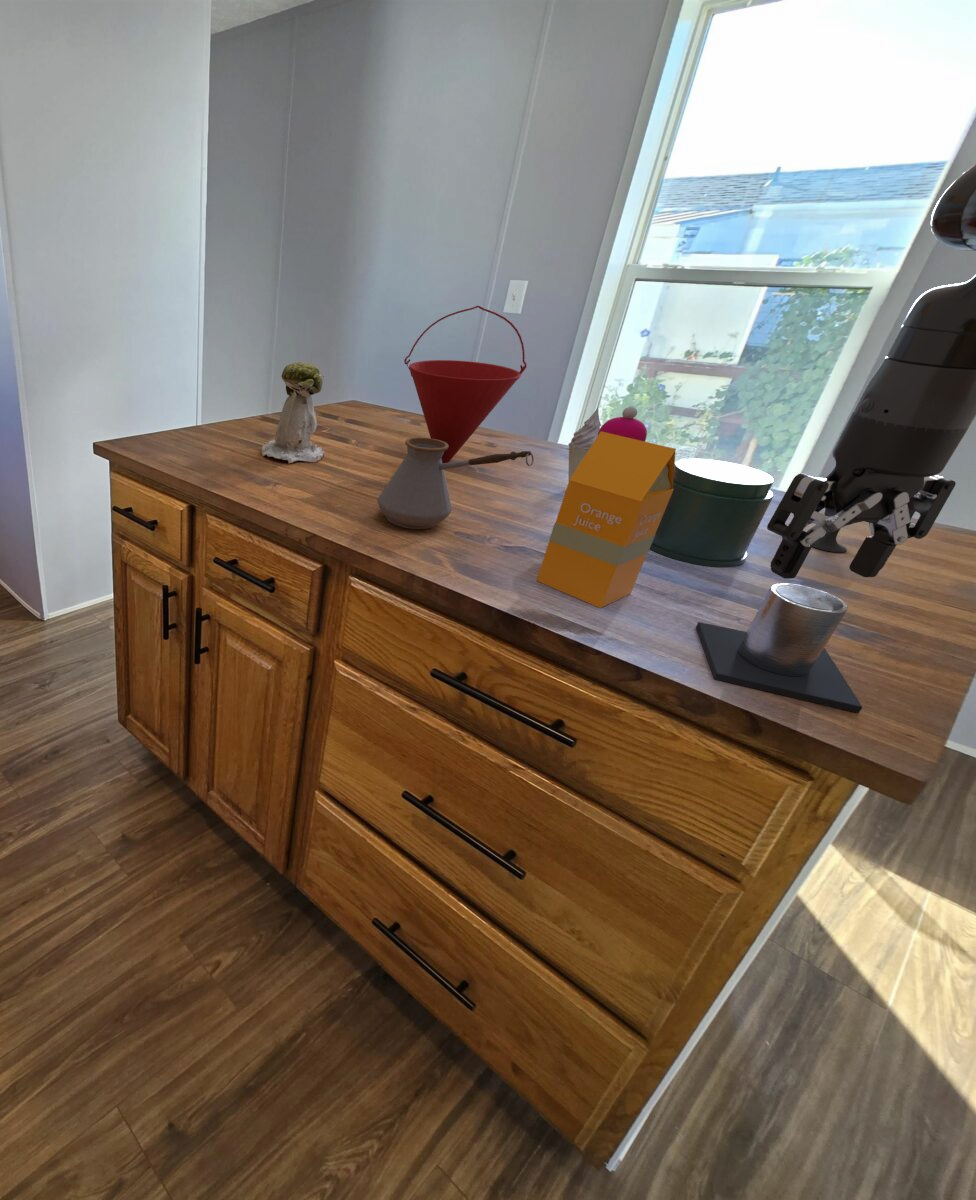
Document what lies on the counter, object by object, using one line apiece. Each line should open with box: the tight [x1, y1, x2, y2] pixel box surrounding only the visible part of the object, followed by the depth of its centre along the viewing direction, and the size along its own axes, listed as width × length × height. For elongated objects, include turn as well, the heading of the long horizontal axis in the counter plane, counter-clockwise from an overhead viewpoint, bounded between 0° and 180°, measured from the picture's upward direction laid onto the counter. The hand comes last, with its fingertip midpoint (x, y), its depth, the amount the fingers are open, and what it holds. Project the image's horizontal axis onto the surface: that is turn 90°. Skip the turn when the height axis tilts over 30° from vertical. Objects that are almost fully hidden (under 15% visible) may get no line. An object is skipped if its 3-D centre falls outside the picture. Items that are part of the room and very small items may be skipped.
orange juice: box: [536, 432, 677, 609], centre depth 83 cm, size 8×9×20 cm
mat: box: [695, 621, 863, 714], centre depth 72 cm, size 12×12×1 cm
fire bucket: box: [403, 305, 527, 463], centre depth 124 cm, size 22×20×30 cm
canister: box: [649, 458, 775, 568], centre depth 97 cm, size 14×14×12 cm
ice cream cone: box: [567, 407, 602, 484], centre depth 118 cm, size 5×5×15 cm
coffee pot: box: [377, 437, 535, 530], centre depth 100 cm, size 21×12×15 cm, turn 44°
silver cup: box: [738, 582, 849, 677], centre depth 70 cm, size 6×6×8 cm
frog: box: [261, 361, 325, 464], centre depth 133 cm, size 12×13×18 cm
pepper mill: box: [597, 406, 648, 442], centre depth 98 cm, size 7×7×20 cm
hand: (821, 574), depth 67 cm, fingers open, 8 cm apart
